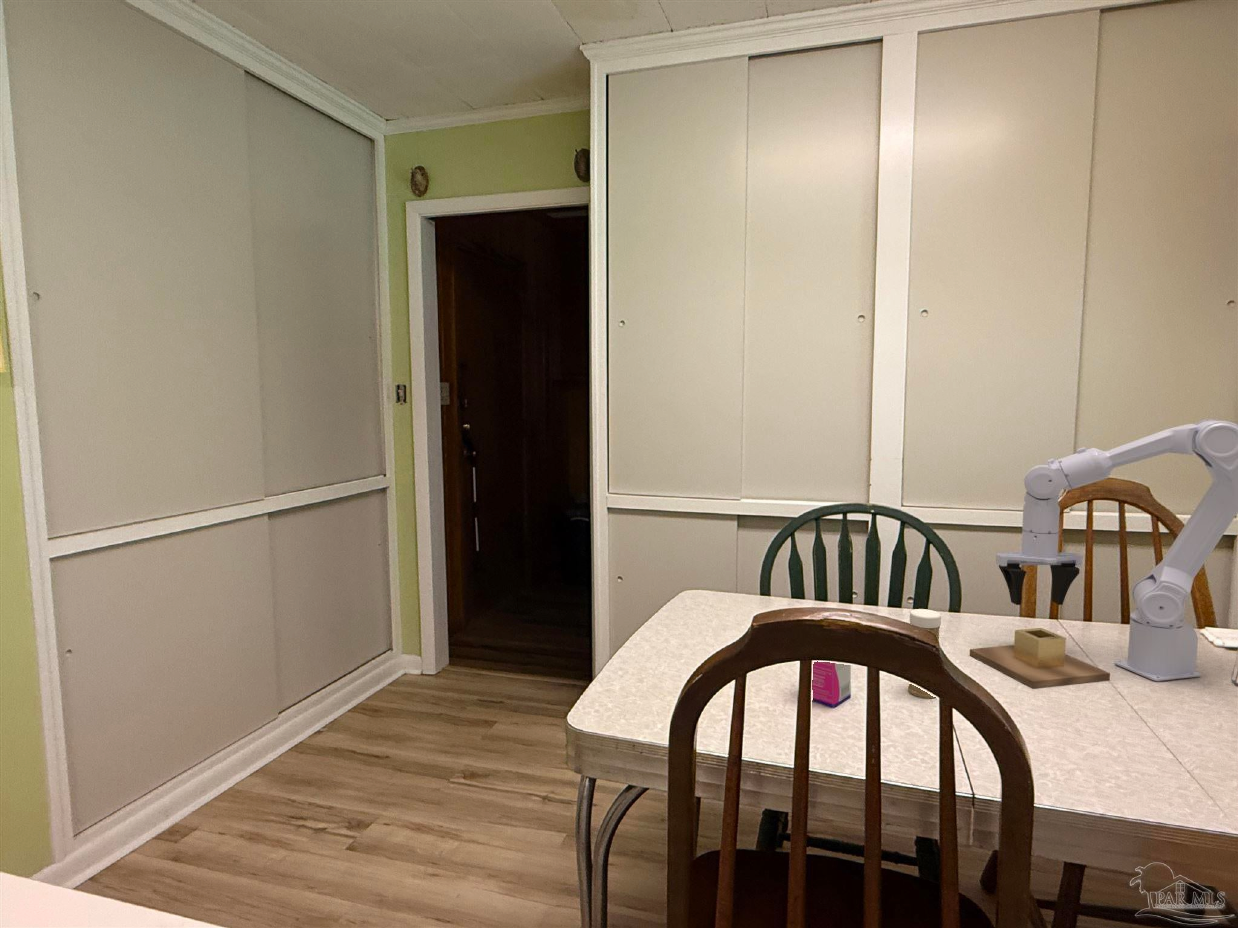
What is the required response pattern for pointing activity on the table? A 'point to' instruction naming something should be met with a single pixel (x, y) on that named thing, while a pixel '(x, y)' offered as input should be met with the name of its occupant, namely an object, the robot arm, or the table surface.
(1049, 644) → the small tan open box
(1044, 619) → the table surface
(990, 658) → the post stand
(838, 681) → the supplement box
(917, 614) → the sprinkles bottle
